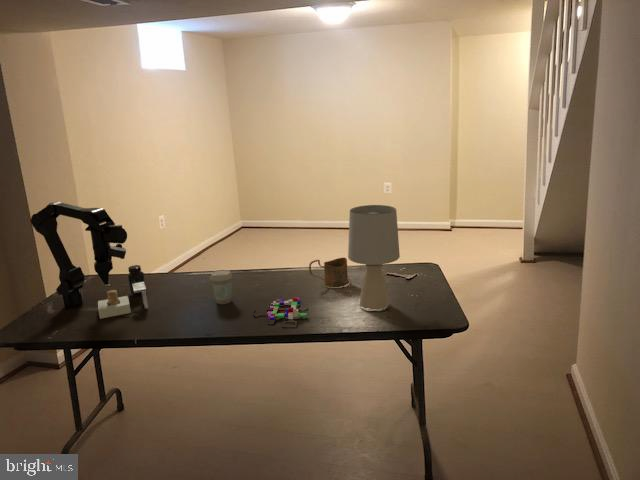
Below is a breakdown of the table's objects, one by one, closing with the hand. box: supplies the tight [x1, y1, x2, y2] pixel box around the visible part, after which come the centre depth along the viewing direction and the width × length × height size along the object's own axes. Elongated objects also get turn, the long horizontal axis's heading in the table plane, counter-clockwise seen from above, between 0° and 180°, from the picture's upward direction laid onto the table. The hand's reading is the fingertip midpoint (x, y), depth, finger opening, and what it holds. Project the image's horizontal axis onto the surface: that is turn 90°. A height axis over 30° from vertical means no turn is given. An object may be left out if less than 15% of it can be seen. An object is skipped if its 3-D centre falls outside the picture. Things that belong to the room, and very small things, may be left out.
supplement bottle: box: [126, 264, 148, 297], centre depth 213 cm, size 7×7×12 cm
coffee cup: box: [210, 269, 233, 305], centre depth 200 cm, size 8×9×12 cm
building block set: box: [267, 297, 308, 320], centre depth 188 cm, size 25×20×4 cm
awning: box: [132, 282, 149, 310], centre depth 200 cm, size 4×9×8 cm, turn 24°
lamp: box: [347, 204, 401, 309], centre depth 185 cm, size 19×19×37 cm
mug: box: [308, 257, 350, 287], centre depth 213 cm, size 12×18×12 cm, turn 115°
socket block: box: [97, 295, 132, 320], centre depth 197 cm, size 11×10×4 cm
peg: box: [106, 289, 119, 306], centre depth 197 cm, size 4×4×8 cm
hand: (106, 280), depth 197 cm, fingers open, 9 cm apart
